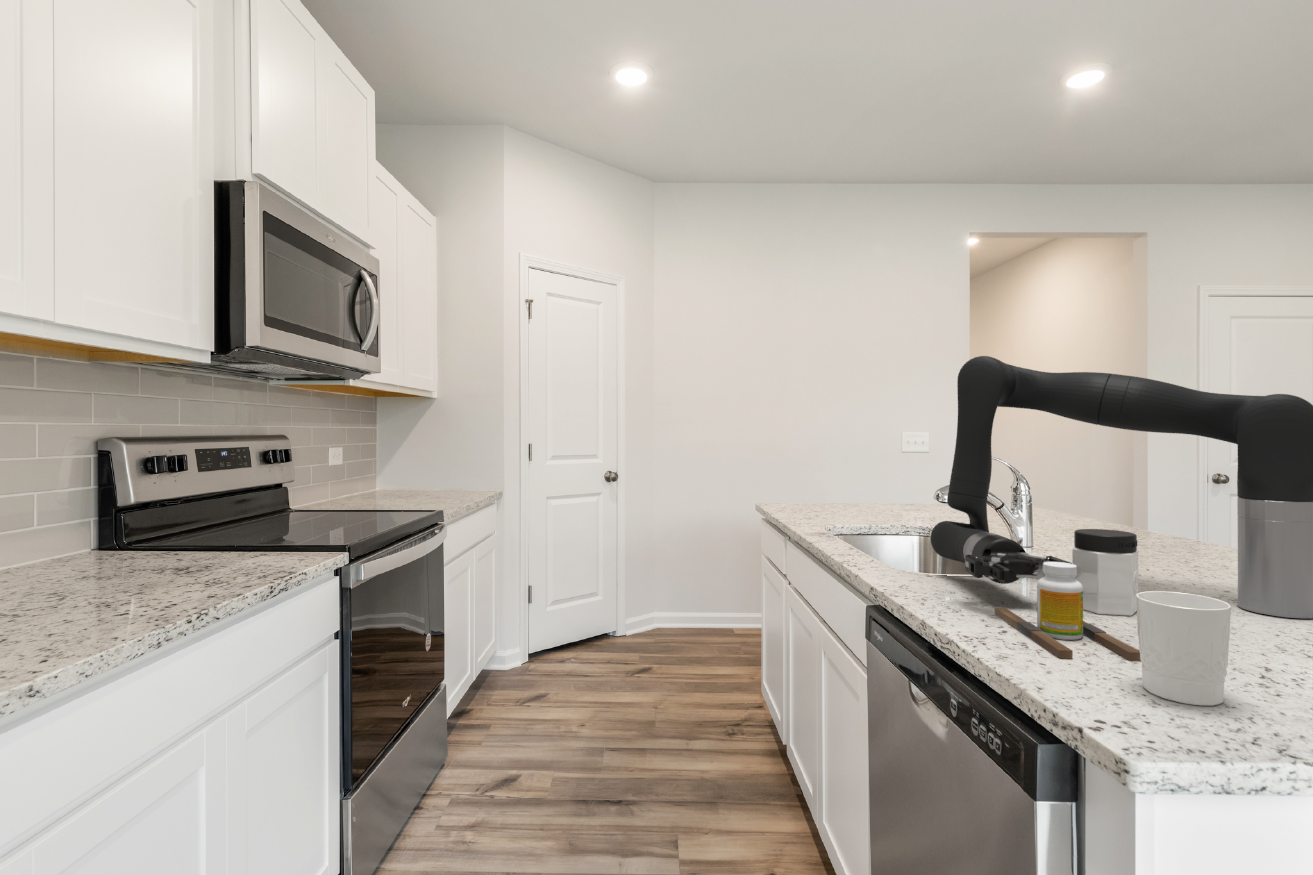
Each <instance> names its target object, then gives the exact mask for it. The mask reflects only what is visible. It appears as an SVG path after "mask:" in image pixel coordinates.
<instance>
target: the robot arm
mask: <svg viewBox="0 0 1313 875" xmlns="http://www.w3.org/2000/svg"><path fill="white" fill-rule="evenodd" d="M956 385H957V424H956V427H957V428H956V439H955V447H954V453H953V454H954V455H953V462H952V468H951V474H950V479H949V486H948V492H947V505H948V506H949V507H950V508H952V509H954V510H955V511H960V512H963V513H965V514H966V515H967V516H968V518H969V523H965V522H957V521H952V520H951V521H950V520H942V521H940V522H939V523H937V524H935V525H934V526H933V528H932V530H931V532H930V545H931V547H932V549H933V550H934V552H935V553H936V554H937V555H938V556H940V557H942V558H945V559H948V560H952V561H955V562H960V563H963V564H965V565H964V567H965V568H964V571H966V572H967V573H968V574H970V576H972V577H974V578H977V579H982V578H983V577H985V578H987V579H988V580H990V581H992V582H995V583H997V584H1005V585H1006V584H1011V583H1014V582H1016V581H1018V580H1019V579H1026V578H1028V579H1032V580H1039V579H1041V578H1043V577H1045V574H1044V573H1043V563H1044V562H1064V563H1070V564H1073V562H1071V561H1067V560H1065V559H1061V558H1058V557H1056V556H1053V555H1047V556H1045V557H1044V556H1037V555H1031V554H1029V553H1027V552H1026V550H1025V549H1024V547H1023V546H1022V545H1021V544H1020V543H1019V542H1017V541H1015V540H1013V539H1010V538H1008V537H1006V536H1003V535H1000V534H997V533H994V532H990V529H989V522H988V521H989V520H988V509H987V507H988V506H987V503H988V497H989V491H990V484H991V479H992V468H993V467H992V465H993V464H992V463H993V460H992V459H993V458H992V456H993V454H992V434H993V425H994V420H995V416H996V411H997V409H998V408H999V407H1001V408H1015V409H1016V408H1017V409H1026V410H1027V409H1028V410H1035V411H1040V412H1045V413H1049V414H1052V415H1056V416H1060V417H1064V418H1066V419H1070V420H1074V421H1078V422H1083V423H1087V424H1092V425H1096V426H1101V427H1108V428H1114V429H1121V430H1126V431H1127V430H1128V431H1135V432H1148V433H1161V434H1162V433H1163V434H1181V435H1182V434H1183V435H1191V436H1197V437H1198V436H1199V437H1204V438H1211V439H1213V440H1218V441H1223V442H1227V443H1232V444H1235V445H1237V472H1236V474H1237V476H1236V478H1237V480H1236V484H1237V487H1236V488H1237V489H1236V490H1237V497H1236V498H1237V500H1236V501H1237V606H1238V607H1239V608H1240V609H1243V610H1245V611H1250V612H1253V613H1257V614H1264V615H1269V616H1274V617H1280V618H1290V619H1291V618H1292V619H1313V404H1312V403H1311V402H1310V401H1308V400H1307V399H1304V398H1302V397H1300V396H1297V395H1293V394H1287V393H1273V394H1268V395H1246V394H1245V395H1244V394H1243V395H1241V394H1231V393H1230V394H1228V393H1217V392H1216V393H1215V392H1209V391H1208V392H1207V391H1201V390H1197V389H1193V388H1189V387H1185V386H1181V385H1177V384H1174V383H1169V382H1166V381H1160V380H1156V379H1151V378H1146V377H1141V376H1133V375H1125V374H1118V373H1109V372H1107V373H1106V372H1093V371H1081V372H1080V371H1077V372H1076V371H1074V372H1051V371H1050V372H1048V371H1039V370H1034V369H1030V368H1025V367H1022V366H1021V367H1020V366H1016V365H1013V364H1008V363H1006V362H1003V361H1001V360H1000V359H997V358H995V357H992V356H988V355H979V356H975V357H973V358H971V359H969V360H967V361H966V362H965V363H964V364H962V366H961V368H960V369H959V371H958V375H957V384H956ZM1036 572H1037V574H1035V573H1036Z"/></svg>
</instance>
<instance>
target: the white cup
mask: <svg viewBox="0 0 1313 875" xmlns="http://www.w3.org/2000/svg"><path fill="white" fill-rule="evenodd" d="M1136 604H1137V611H1136V618H1137V619H1136V620H1137V636H1138V647H1139V651H1140V660H1141V661H1140V662H1141V673H1142V674H1141V676H1142V687H1143V689H1145V690H1146V691H1147V692H1148V693H1151V694H1152V695H1155V696H1157V697H1159V698H1161V699H1165V700H1169V701H1172V702H1176V703H1178V704H1179V703H1181V704H1187V705H1191V706H1192V705H1193V706H1204V707H1205V706H1207V707H1208V706H1210V707H1212V706H1217V705H1221V704H1223V703H1224V698H1225V697H1224V696H1225V695H1224V694H1225V681H1226V679H1225V678H1226V677H1227V675H1228V670H1227V668H1228V663H1229V651H1230V650H1229V648H1230V637H1231V636H1230V633H1231V631H1230V630H1231V618H1232V617H1231V614H1232V605H1231V604H1230V603H1228V602H1226V601H1224V600H1221V599H1218V598H1214V597H1210V596H1206V595H1200V594H1194V593H1193V594H1192V593H1187V592H1179V591H1169V590H1168V591H1164V590H1148V591H1140V592H1138V593H1137V594H1136Z"/></svg>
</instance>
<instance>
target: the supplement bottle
mask: <svg viewBox="0 0 1313 875" xmlns="http://www.w3.org/2000/svg"><path fill="white" fill-rule="evenodd" d="M1070 563H1071V562H1070ZM1070 563H1064V562H1044V563H1043V573H1044V574H1045V577H1043V578H1041V579H1039V580H1038V581H1037V582H1036V589H1037V590H1036V600H1037V601H1036V602H1037V604H1036V605H1037V606H1036V610H1037V611H1036V612H1037V613H1036V614H1037V616H1036V617H1037V618H1036V622H1037V623H1036V627H1038V628H1039V629H1041V630H1042V632H1044V633H1046V634H1047V635H1049V636H1050V637H1052V638H1053V639H1055V640H1063V641H1076V640H1081V639H1082V638H1083V637H1084V634H1083V621H1084V610H1083V586H1082V584H1081V583H1080V582H1079V581H1077V580H1075V577H1076V576H1077V575H1076V574H1077V566H1076V565H1074V564H1073V563H1072V564H1070Z"/></svg>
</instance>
